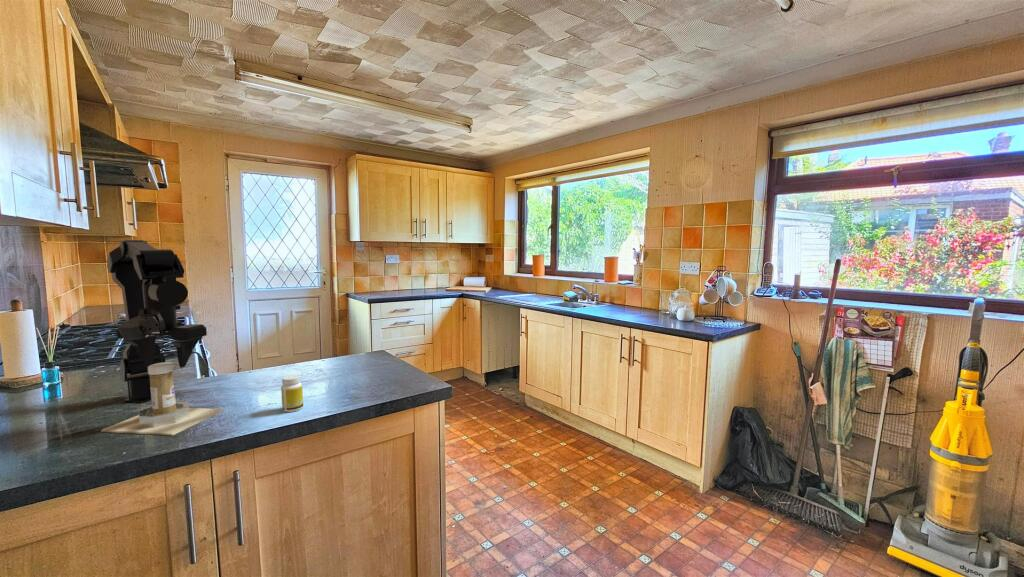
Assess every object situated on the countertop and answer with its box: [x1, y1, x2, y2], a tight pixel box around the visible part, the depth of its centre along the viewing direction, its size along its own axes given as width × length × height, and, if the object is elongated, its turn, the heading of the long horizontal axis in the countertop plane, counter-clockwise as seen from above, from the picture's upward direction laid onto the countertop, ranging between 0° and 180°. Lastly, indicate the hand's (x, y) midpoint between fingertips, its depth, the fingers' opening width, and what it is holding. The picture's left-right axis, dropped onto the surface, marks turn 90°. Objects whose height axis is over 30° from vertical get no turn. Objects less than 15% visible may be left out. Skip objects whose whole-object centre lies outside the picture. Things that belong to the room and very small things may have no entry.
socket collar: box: [138, 401, 190, 427], centre depth 101 cm, size 9×9×2 cm
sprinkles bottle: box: [148, 361, 177, 415], centre depth 100 cm, size 5×5×13 cm
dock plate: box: [100, 407, 224, 436], centre depth 101 cm, size 18×14×1 cm
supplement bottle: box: [280, 374, 304, 413], centre depth 107 cm, size 5×5×8 cm
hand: (165, 366), depth 101 cm, fingers open, 9 cm apart
